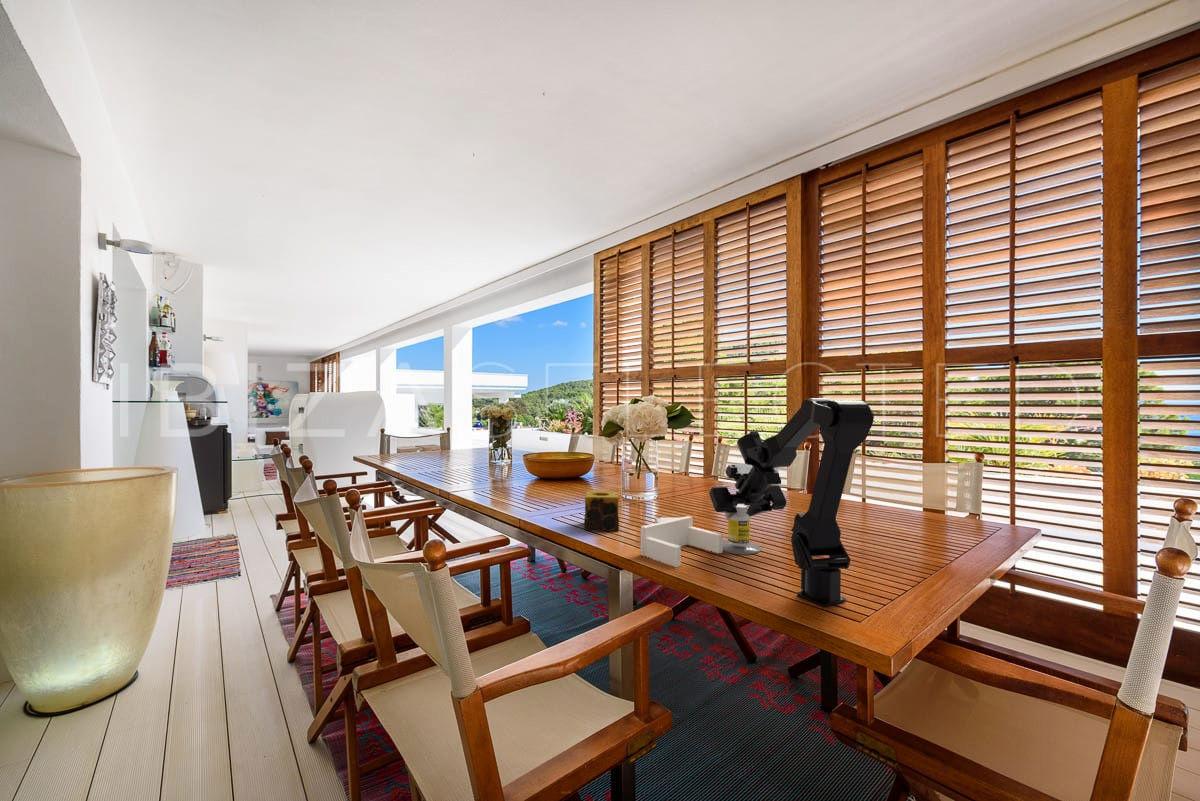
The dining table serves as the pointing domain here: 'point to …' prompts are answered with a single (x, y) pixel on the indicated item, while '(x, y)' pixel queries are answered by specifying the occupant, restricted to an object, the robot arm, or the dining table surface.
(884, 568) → the dining table surface
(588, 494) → the candle
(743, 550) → the coaster
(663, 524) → the cream u-shaped arch
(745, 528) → the supplement bottle
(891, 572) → the dining table surface
